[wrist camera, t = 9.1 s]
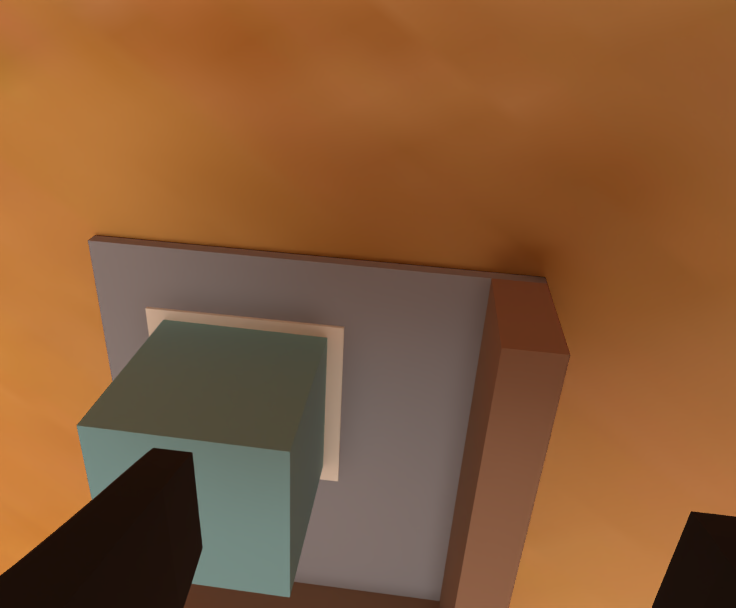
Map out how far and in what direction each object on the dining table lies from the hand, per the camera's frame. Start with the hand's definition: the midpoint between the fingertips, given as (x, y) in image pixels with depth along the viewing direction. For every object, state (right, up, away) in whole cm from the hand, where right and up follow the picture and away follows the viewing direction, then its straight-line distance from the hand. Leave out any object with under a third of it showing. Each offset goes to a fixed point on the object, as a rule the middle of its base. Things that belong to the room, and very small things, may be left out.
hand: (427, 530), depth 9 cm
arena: (-3, -2, +12) cm, 13 cm away
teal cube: (-5, 0, +10) cm, 12 cm away
